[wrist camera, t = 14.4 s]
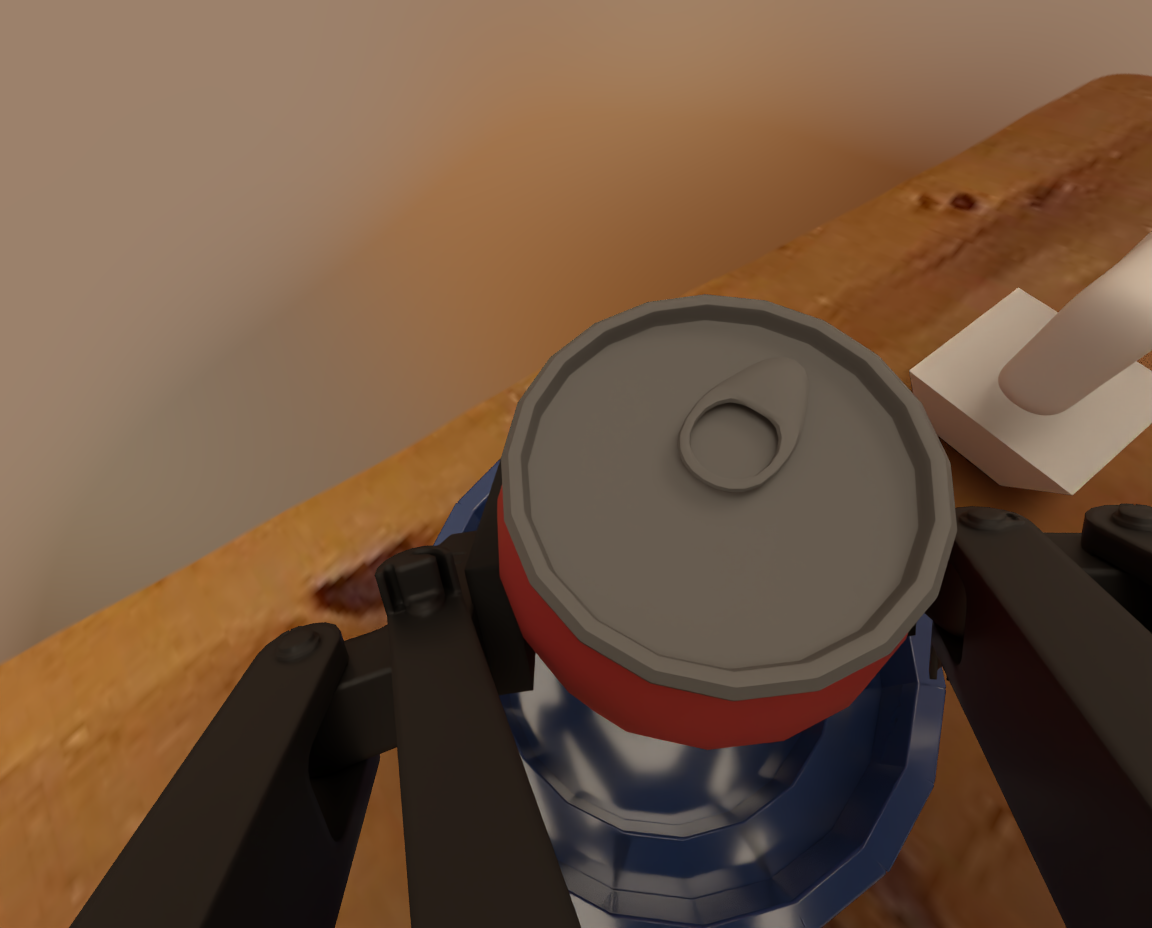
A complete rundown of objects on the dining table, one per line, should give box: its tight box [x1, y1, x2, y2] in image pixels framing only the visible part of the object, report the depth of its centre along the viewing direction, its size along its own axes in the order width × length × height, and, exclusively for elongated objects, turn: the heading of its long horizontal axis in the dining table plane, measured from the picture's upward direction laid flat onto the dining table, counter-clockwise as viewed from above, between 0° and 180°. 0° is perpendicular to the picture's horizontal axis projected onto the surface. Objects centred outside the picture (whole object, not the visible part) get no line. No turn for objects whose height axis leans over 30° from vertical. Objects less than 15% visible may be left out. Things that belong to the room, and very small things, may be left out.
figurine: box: [909, 231, 1152, 495], centre depth 19 cm, size 7×9×15 cm
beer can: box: [497, 294, 957, 750], centre depth 12 cm, size 7×7×12 cm
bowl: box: [433, 458, 946, 928], centre depth 20 cm, size 17×17×6 cm
